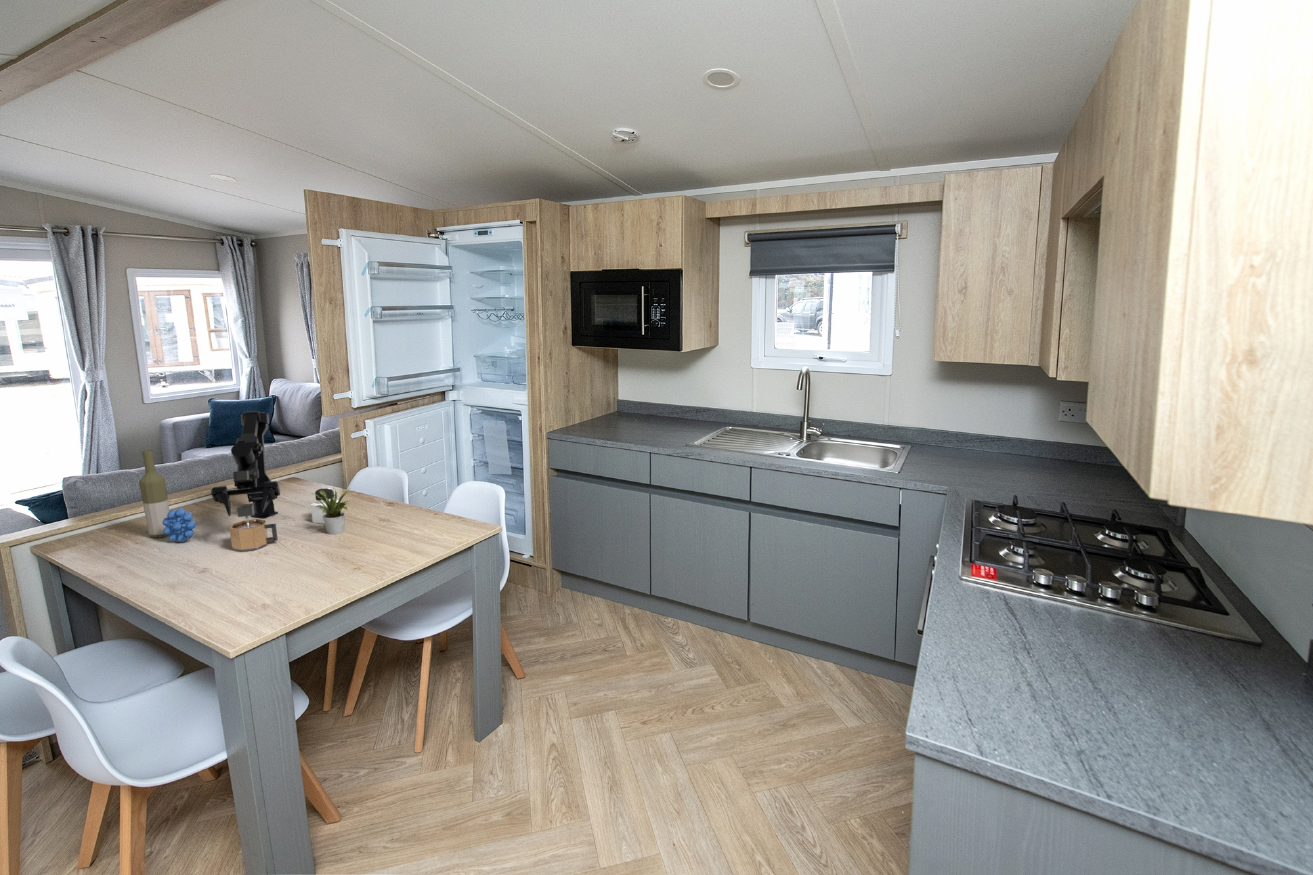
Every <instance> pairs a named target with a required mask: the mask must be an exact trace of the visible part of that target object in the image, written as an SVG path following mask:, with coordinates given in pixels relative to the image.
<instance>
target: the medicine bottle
mask: <svg viewBox="0 0 1313 875" xmlns="http://www.w3.org/2000/svg"><path fill="white" fill-rule="evenodd" d="M321 490H322V491H321ZM332 490H333V496H332ZM323 491H324V492H325V493H326V495H327V497H328V499H329V501H330V499H332V498H333V497H334V498H335V496H334V495H335V490H334V489H333V488H331V487H322V488H319V489H317V490H315V492H314V495H315V494H316V495H315V497H317V498H315V502H314V503H311V504H310V510H311V519H312V523H313V524H323V525H325V522H324V519H323V516H324V515H325V514H327V513H326V512H324V513H323V510H324V509H323V510H321V509H318V508H320V507H316V506H318V505H322V506H323V504H324V505H325V506H326V507H327V505H326V504H325V503H324V502H323V501H322V500H321V499H320V498H318V496H319V497H322V498H324V497H323V496H322V494H321V493H320V492H322V493H323ZM323 494H324V493H323ZM317 495H318V496H317ZM324 495H325V494H324ZM324 499H325V498H324ZM318 500H320V501H321V502H322V503H323V504H322V503H321V502H319V501H318ZM338 501H339V499H337V501H336V505H337V503H338ZM340 503H342V501H341V502H340ZM327 509H329V508H328V507H327Z"/></svg>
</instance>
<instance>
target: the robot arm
mask: <svg viewBox="0 0 1313 875" xmlns="http://www.w3.org/2000/svg"><path fill="white" fill-rule="evenodd" d="M240 422H241V425H242V431H241V433H242V434H241V436H239V437H238V438H237V439H236V442H235V444H234V445H233V446H232V447H231V449H230V453H231V454H232V457H233V460H234V462H235V464H236V466H237V468H236V471H234V472H233V482H234V484H233V485H234V487H236V488H230V489H228V487H227V485H222V486H221V485H220V486H213V487H212V488H211V490H210V493H211V496H212V498H213V501H214V502H217V503H219V504H220V505H221V504H223V506H224V507H225V510H226V513H227V515H228V517H231V515H232V514H231V513H232V510H231V506H232V505H231V500H230V496H239V495H246V496H247V499H248V503H253V504H254V511H255V512H254V514H253V516H250V517H252V518H257V519H266V518H268V517H271V516H274V515H277V514H279V512H278V511H276V509H275V503H274V500H276V499H278V497H279V496H281V488H280V485H279V482H278V481H277V480H274V481H272V480H271V478H270V477H269V475H267V468H266V467H267V466H266V454H265V439H264V438H265V434H266V433H267V431H268V429H269V424H270V415H269V414H268V413H267V412H265V411H263V412H261V411H256V410H254V411H245V412H243V413H242V414H240Z"/></svg>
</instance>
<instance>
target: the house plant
mask: <svg viewBox="0 0 1313 875" xmlns="http://www.w3.org/2000/svg"><path fill="white" fill-rule="evenodd" d="M334 488H335V487H332V489H333V490H334ZM350 489H351V487H350V488H348V489H346V490H345V491H344V492H343V493H342V494H341V496H339V498H338V491H339V490H337V489H335V490H334V497H333V498H332V499H330V501H329V499H328V497H327V495H326V493H325V492H324V491H323V493H324V494H325V495H324V494H323V493H322V492H320V493H321V494H322V496H323V497H324V498H325V499H324V498H322V497H319V496H318V495H317V496H318V498H320V499H321V500H322V501H323V502H324V503H325V504H326V505H327V507H328V508H329V509H327V507H326V506H325V505H324V504H323V503H322V502H321V501H320V500H318V501H319V502H321V503H322V504H323V506H322V505H318V506H316V507H320V508H318V509H321V510H323V509H324V510H323V513H324V512H326V513H327V514H325V515H324V516H323V519H324V522H325V524H324V525H325V529H326V531H327V534H328V535H339V534H342V533H344V532H345V524H346V523H345V521H346V512H344V511H343V509H345V510H346V511H348V507H347V506H346V505H347V504H350V503H349V502H350V500H349V501H348V500H347V501H342V499H343V498H344V497H345V496H346V495H347V493H348V491H349V490H350ZM333 490H332V496H333ZM321 491H322V490H321ZM311 494H312V495H316V494H315V492H311ZM316 498H317V497H316V496H315V497H314V499H316ZM337 500H339V501H338V503H337V505H336V501H337ZM340 502H341V503H340Z"/></svg>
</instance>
